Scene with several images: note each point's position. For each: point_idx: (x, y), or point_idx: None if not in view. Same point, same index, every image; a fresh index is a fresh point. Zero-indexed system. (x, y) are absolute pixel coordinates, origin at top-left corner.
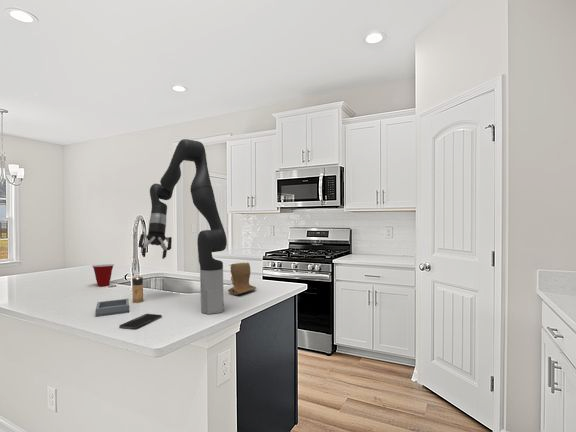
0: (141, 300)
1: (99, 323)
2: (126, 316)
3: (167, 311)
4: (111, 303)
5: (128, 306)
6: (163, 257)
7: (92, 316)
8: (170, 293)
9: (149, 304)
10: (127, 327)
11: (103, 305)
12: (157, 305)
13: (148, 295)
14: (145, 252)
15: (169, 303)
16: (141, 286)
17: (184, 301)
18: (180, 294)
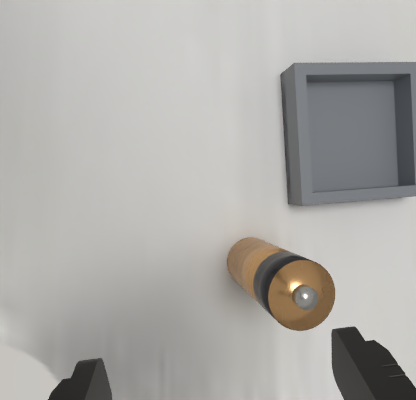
0: (237, 245)
1: None
2: (287, 15)
3: (117, 3)
4: (365, 188)
5: (293, 65)
6: (94, 360)
7: None
8: None
9: (198, 178)
10: None
11: (391, 186)
12: (161, 140)
13: (204, 376)
14: (358, 362)
15: (101, 153)
16: (258, 260)
17: (18, 159)
18: (29, 335)
